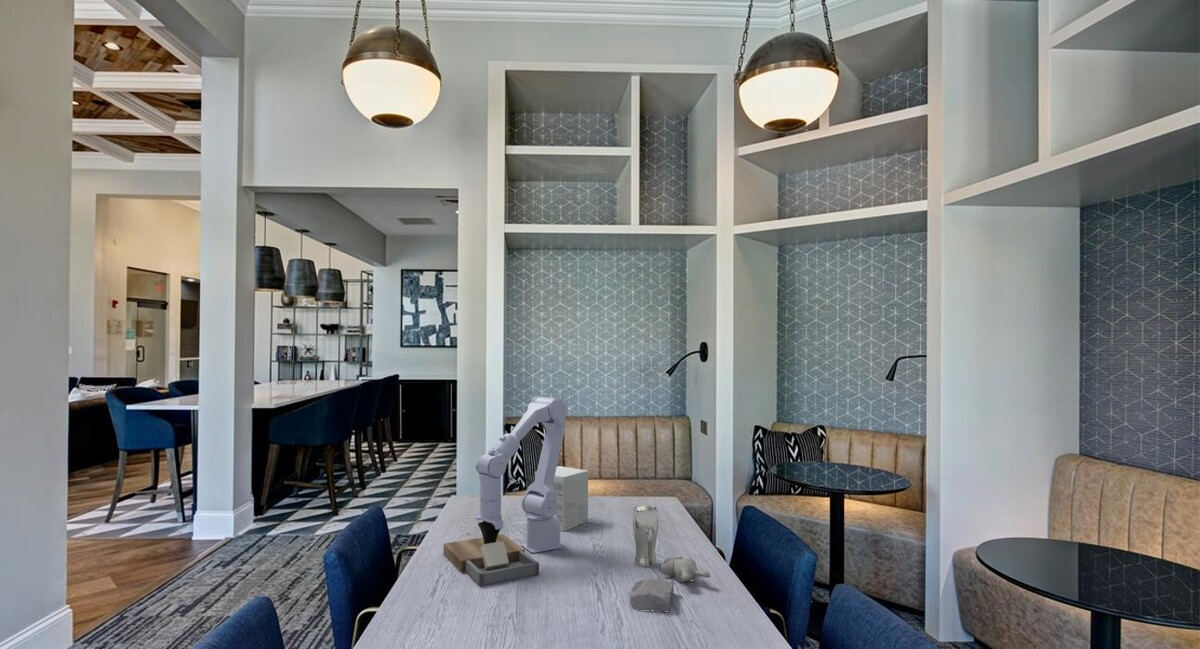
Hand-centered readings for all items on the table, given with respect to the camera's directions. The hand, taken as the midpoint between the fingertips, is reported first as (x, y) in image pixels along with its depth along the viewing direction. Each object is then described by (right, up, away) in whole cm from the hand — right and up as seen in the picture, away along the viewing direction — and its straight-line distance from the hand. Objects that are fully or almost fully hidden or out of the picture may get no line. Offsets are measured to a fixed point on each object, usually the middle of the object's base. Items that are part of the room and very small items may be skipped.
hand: (489, 549), depth 167 cm
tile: (+2, -1, -3) cm, 4 cm away
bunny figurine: (+52, -4, -11) cm, 53 cm away
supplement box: (+17, -5, +38) cm, 42 cm away
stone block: (+42, -4, -24) cm, 49 cm away
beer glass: (+43, -4, 0) cm, 43 cm away
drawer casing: (-2, -4, +4) cm, 6 cm away
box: (+5, -4, -8) cm, 10 cm away
